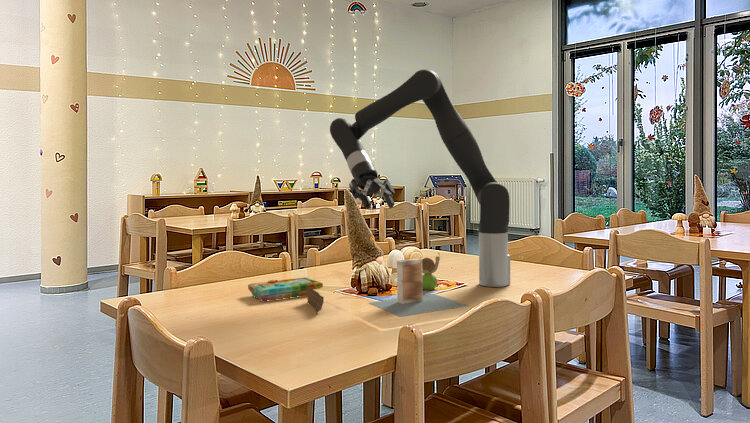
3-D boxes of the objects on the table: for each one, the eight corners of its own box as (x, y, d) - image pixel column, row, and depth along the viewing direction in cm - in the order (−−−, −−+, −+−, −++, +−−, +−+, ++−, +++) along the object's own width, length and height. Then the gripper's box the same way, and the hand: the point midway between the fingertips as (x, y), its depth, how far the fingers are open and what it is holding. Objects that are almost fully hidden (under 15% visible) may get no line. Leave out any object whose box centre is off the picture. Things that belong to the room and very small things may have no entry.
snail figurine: (439, 292, 178) (439, 254, 177) (418, 292, 180) (418, 253, 179) (441, 288, 184) (440, 251, 183) (421, 288, 185) (420, 251, 184)
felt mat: (432, 295, 175) (432, 293, 175) (469, 307, 159) (468, 305, 159) (368, 304, 165) (368, 302, 165) (400, 318, 149) (400, 316, 149)
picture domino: (418, 299, 168) (417, 258, 167) (423, 300, 166) (422, 259, 165) (397, 302, 165) (396, 260, 164) (402, 304, 163) (401, 261, 162)
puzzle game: (247, 281, 179) (307, 274, 189) (248, 296, 180) (307, 288, 190) (260, 288, 169) (322, 280, 179) (261, 304, 169) (322, 295, 179)
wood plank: (302, 303, 168) (302, 286, 168) (309, 303, 169) (309, 286, 168) (317, 316, 154) (316, 297, 153) (324, 315, 155) (324, 296, 154)
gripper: (347, 159, 179) (366, 199, 171) (384, 160, 187) (404, 198, 179) (338, 175, 184) (356, 215, 176) (375, 175, 192) (394, 213, 184)
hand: (380, 207), depth 177 cm, fingers open, 8 cm apart
